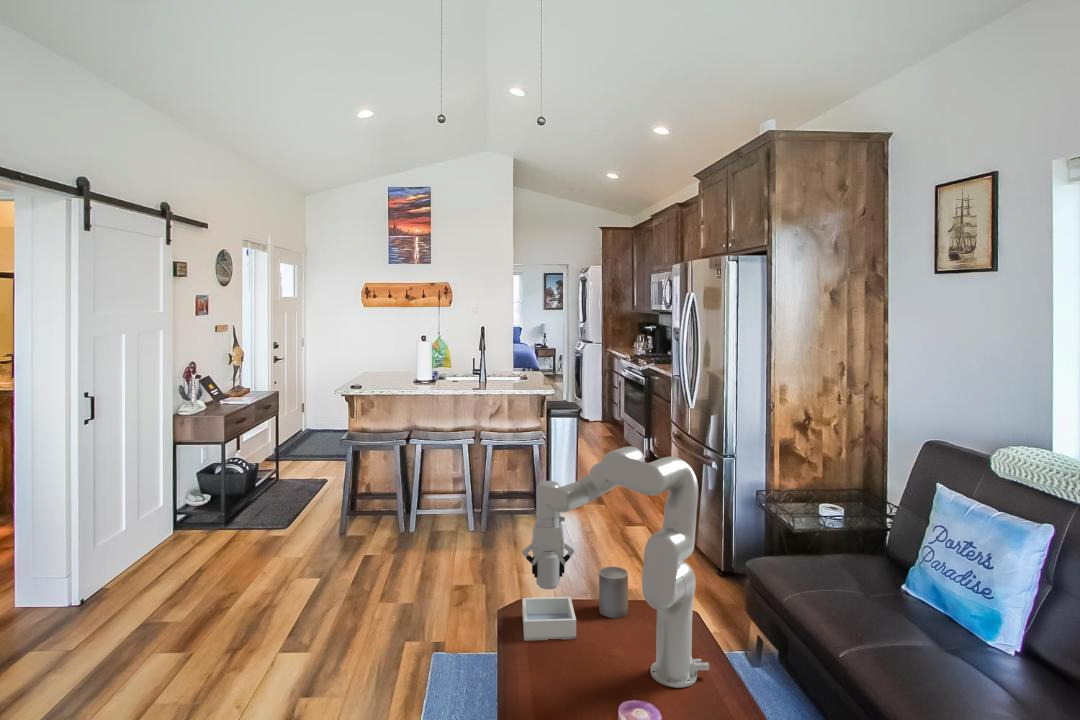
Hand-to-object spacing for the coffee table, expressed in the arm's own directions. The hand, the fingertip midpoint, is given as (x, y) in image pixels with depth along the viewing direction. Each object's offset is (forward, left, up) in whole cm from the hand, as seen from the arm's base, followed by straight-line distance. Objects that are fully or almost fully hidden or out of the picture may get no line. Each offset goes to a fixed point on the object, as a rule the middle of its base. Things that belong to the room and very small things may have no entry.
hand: (548, 575), depth 196 cm
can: (0, 0, -3) cm, 3 cm away
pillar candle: (-23, -9, -17) cm, 30 cm away
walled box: (0, 0, -17) cm, 17 cm away
